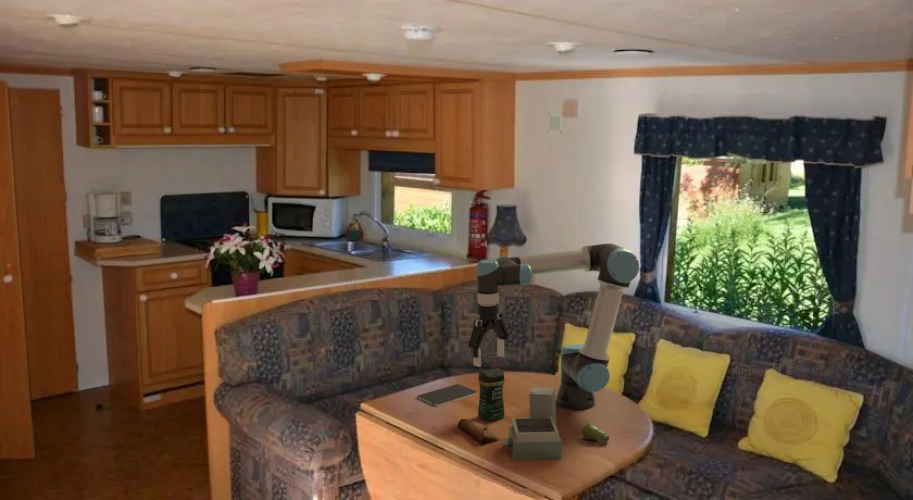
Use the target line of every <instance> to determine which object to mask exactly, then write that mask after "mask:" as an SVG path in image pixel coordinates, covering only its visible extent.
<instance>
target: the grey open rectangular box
mask: <svg viewBox="0 0 913 500" xmlns="http://www.w3.org/2000/svg"><path fill="white" fill-rule="evenodd" d="M562 443H563V440H562V439H561V437H560V432H559V429H558V427H557V424H556V425H555V422H554V420H553V418H552V417H530V416H528V417H525V416H524V417H511V425H509V426H508V437H503V438H501V447H502V448H510V449H509V450H510V453H511V457H512V460H513V461H517V460H519V461H521V460H523V461H525V460H554V459H555V460H558V459H559V460H560V459H562V456H563V455H562V453H563V452H562V451H563V450H562V448H563V446H562V445H563V444H562Z"/></svg>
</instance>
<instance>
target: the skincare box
mask: <svg viewBox="0 0 913 500" xmlns="http://www.w3.org/2000/svg"><path fill="white" fill-rule="evenodd" d="M528 396H529V398H528V399H529V417H552V418H553V420H554V422H555V425H556V426H557V411H556V410H557V408H556V404H557V403H556V389H555V388H549V387H535V386H533V387H532V389H531V390H530V391H529V393H528Z"/></svg>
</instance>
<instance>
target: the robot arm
mask: <svg viewBox="0 0 913 500" xmlns="http://www.w3.org/2000/svg"><path fill="white" fill-rule="evenodd" d="M582 270H583V271H585V272H586V273H587V272H599V273H598V277H597V281H598V283H599V285H600V286H599V289H598V292H597V297H596V301H595V305H594V308H593V313H592V315H591V320H590V323H589V325H588V326H589V327H588V330H587V334H586V338H585V342H584V344H582V343H580V344H577V343H576V344H575V343H574V344H573V343H572V344H568V345H567V344H566V345H564V346H562V347H561V351H560V352H561V353H560V384H559V387H558V388H557V389H558V390H557V393H556V394H555V403H556V404H557V405H558V406H560V407H562V408H565V409H569V410H585V409H590V408H592V407H594V406H595V405H596V396H595V393H597V392H600V391H601V390H603V389H604V388H605V387H606V386H608V384H609V381H610V376H611V373H610V371H609V369H608V366H609V364H610V363H609V362H610V356H609V355H608V350H609V346H610V344H611V343H610V342H611V339H612V335H613V331H614V327H615V324H616V320H617V316H618V313H619V308H620V304H621V302H622V297H623V293H624V291H626V290H627V289H629V288H630V284H631V282H632V281H633V280H634V279H636V278H637V276H638V274H639V272H640V262H639V259H638V257H637V256H636V255H635V253H634V252H632V251H631V250H630V249H628V248H625V247H622V246H620V245H618V244H614V243H600V244H593V245H585V246H582V247H581V248H580V249H574V250H565V251H558V252H557V251H556V252H548V253H540V254H539V253H538V254H530V255H522V256H520V255H519V256H512V257H511V256H510V257H508V256H499V257H497V258H496V259H484V260H483V259H482V260H479V261H478V262H477V265H476V287H477V288H476V289H477V303H478V304H477V315H478V316H479V319H478V320H477V319H474V320H473V327H472V331H471V334H470V337H469V338H470V339H469V342H468V345H467V347H468V348H469V349H472V357H473V366H475V367H478V368H480V367H482V356H481V353H482V351H481V348H480V346H481V344H482V343H483V339H484V337H485V335H486V333H487V332H488V331H490V330H491V329H492V330H493V332H494V333H495V335H496V336H497V338H496V344H497V345H496V352H497V353H496V356H497V357H502V358H505V344H506V343H505V342H506V340H507V339H508V337H509V332H508V327H506V324H505V320H504V314H503V313H501V312H500V311H499V310H500V307H499V306H500V305H499V302H500V300H499V299H500V298H499V288H501V287H513V286H525V285H530V284H531V282H532V279H533V276H537V275H546V274H554V273H565V272H571V271H572V272H573V271H582Z"/></svg>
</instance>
